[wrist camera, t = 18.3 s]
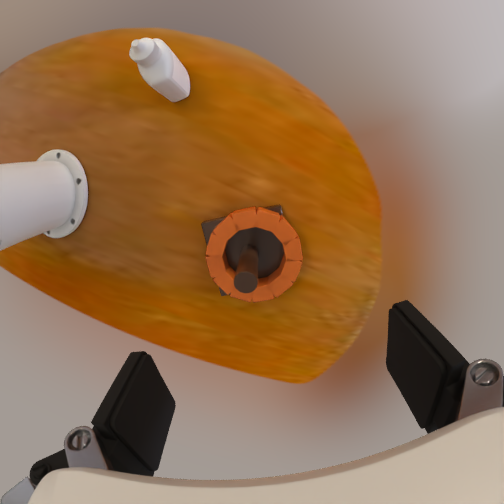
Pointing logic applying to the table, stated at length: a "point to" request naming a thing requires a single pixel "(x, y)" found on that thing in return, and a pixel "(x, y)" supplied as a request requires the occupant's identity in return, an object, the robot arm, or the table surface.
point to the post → (250, 253)
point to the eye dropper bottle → (161, 68)
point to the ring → (265, 286)
